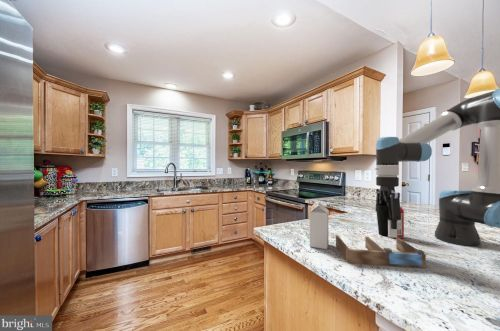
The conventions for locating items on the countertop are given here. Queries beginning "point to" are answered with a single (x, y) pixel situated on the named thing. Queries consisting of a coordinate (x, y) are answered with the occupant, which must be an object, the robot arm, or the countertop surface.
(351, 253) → the comb rack
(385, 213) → the cup
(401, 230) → the soda can
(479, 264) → the countertop surface
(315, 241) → the milk carton
